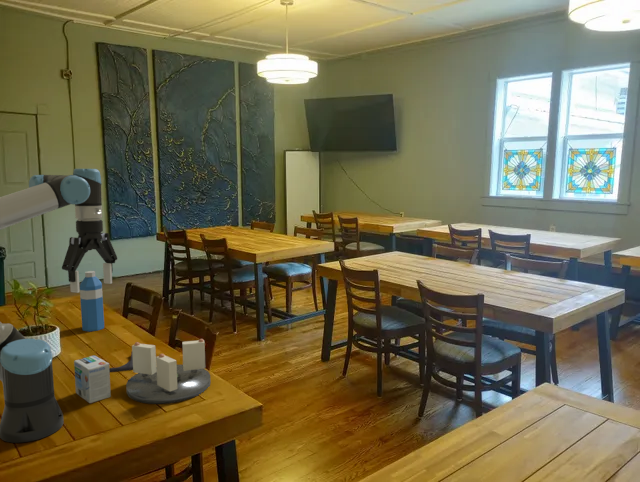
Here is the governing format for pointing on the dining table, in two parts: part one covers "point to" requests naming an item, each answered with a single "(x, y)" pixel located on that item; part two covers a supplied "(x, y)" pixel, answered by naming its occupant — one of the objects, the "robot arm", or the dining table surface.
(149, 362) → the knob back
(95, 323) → the water bottle
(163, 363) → the white block with knob
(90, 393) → the light bulb box
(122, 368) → the bracket
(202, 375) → the plate
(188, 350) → the beige upright box
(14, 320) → the dining table surface
